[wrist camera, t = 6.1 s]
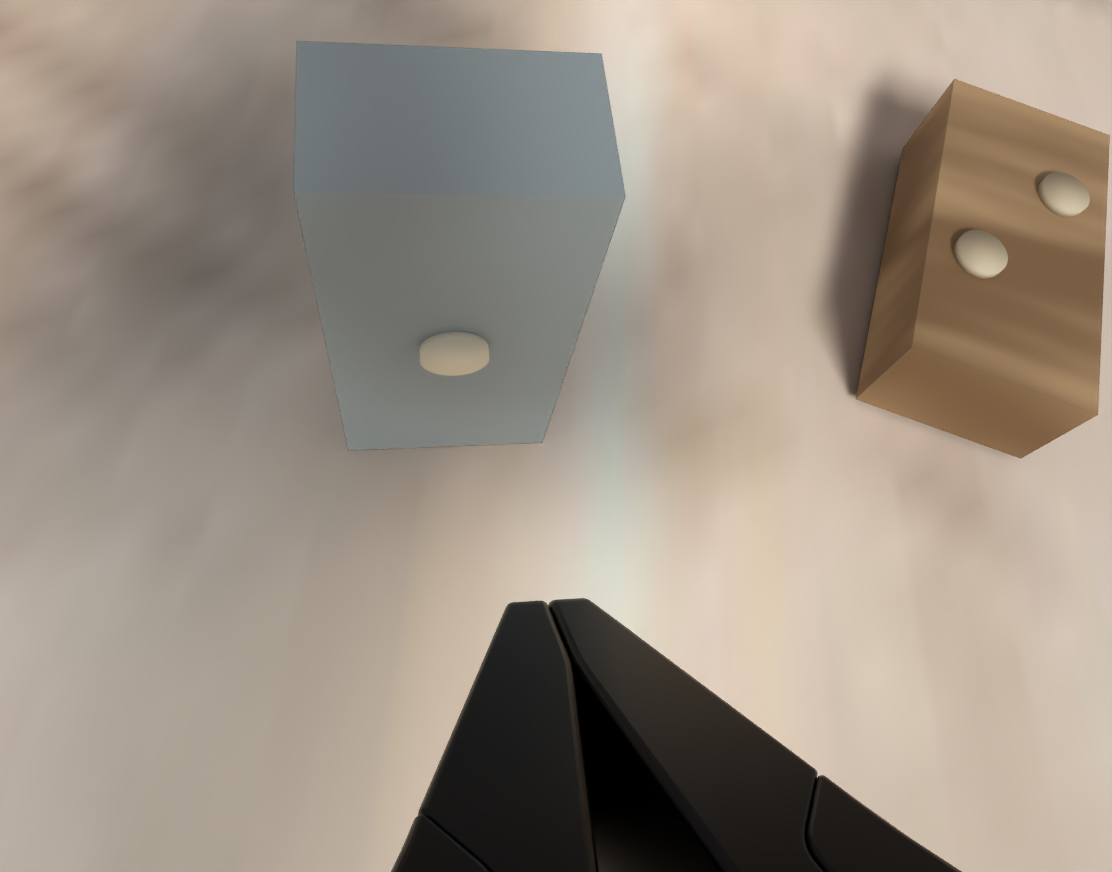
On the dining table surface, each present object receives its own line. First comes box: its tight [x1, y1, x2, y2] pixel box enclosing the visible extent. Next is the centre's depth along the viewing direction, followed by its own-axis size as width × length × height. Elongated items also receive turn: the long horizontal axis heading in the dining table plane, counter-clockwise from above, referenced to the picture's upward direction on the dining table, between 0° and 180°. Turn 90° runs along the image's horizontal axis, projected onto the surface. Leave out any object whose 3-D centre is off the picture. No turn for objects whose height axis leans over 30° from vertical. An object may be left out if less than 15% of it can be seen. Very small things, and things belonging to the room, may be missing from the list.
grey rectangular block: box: [294, 41, 625, 451], centre depth 18 cm, size 4×5×10 cm
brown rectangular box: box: [856, 79, 1110, 458], centre depth 25 cm, size 4×5×10 cm
